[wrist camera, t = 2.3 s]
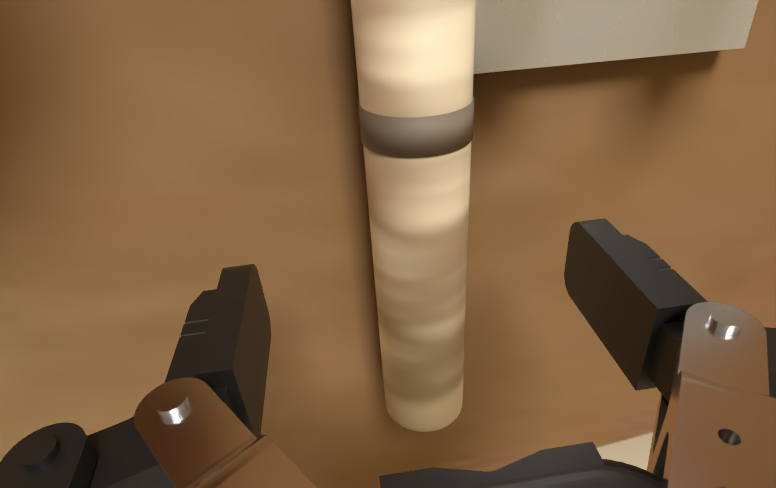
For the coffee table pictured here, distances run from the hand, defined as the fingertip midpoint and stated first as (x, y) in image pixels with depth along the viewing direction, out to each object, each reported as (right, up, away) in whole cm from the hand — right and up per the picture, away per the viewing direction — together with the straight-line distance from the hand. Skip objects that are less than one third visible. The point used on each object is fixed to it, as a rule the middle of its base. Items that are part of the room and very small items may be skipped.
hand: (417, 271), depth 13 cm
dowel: (0, +2, +5) cm, 5 cm away
